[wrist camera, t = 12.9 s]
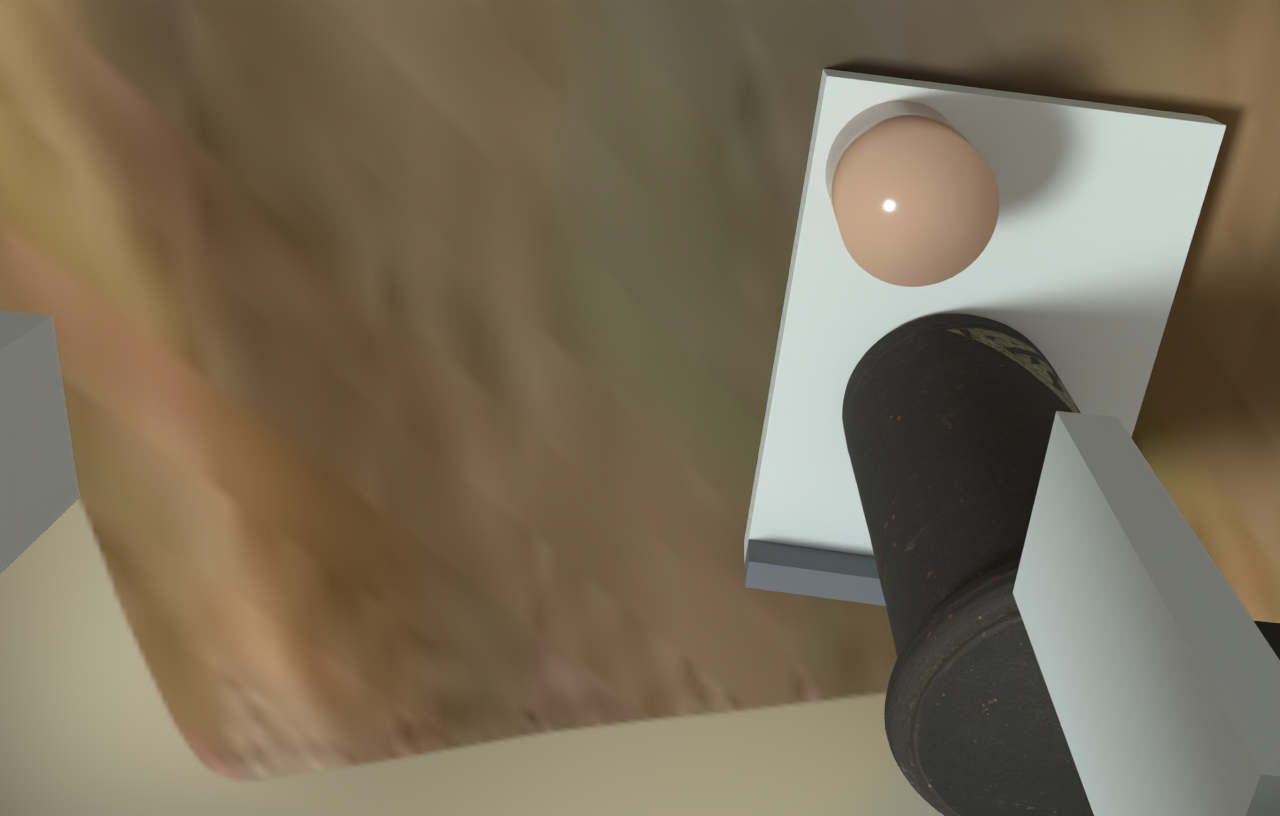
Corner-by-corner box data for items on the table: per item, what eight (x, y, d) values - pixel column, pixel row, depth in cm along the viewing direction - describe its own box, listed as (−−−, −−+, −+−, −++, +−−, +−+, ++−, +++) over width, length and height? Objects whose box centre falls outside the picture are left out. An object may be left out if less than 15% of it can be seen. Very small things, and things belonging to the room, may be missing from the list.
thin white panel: (823, 68, 44) (830, 83, 40) (1205, 116, 43) (1246, 134, 40) (743, 543, 52) (744, 590, 48) (1066, 586, 51) (1090, 637, 48)
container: (1043, 518, 48) (1231, 902, 30) (819, 497, 48) (868, 862, 30) (1089, 315, 45) (1335, 606, 26) (848, 294, 45) (924, 566, 27)
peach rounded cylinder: (838, 92, 42) (853, 121, 37) (979, 109, 42) (1015, 140, 36) (814, 229, 44) (825, 276, 39) (949, 246, 44) (979, 296, 38)
